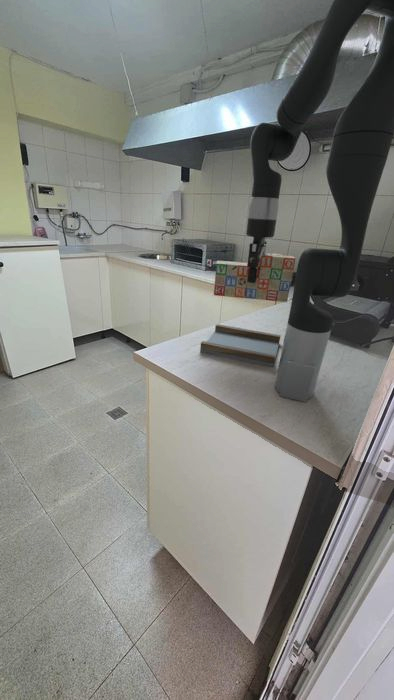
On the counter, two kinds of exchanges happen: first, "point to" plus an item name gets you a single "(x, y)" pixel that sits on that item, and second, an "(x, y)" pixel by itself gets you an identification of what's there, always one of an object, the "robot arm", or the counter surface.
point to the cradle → (242, 345)
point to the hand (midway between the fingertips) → (253, 280)
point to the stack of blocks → (269, 279)
